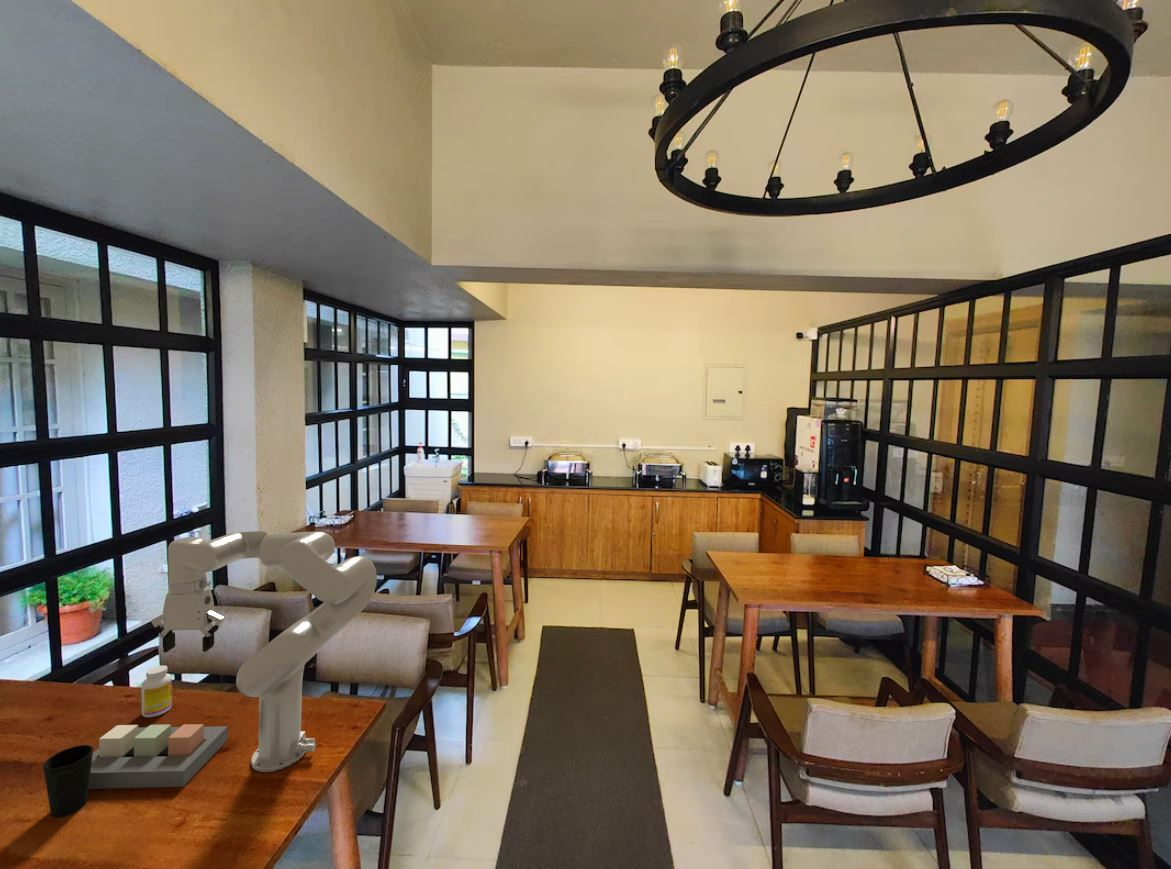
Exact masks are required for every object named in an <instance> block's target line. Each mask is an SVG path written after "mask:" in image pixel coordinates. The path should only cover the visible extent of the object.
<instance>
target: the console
mask: <svg viewBox="0 0 1171 869" xmlns="http://www.w3.org/2000/svg"><path fill="white" fill-rule="evenodd" d="M147 727H148V726H147ZM147 727H146V726H145V727H143V726H142V727H138V735H139V734H140V733H141V732H142V731H143V730H145V729H146V728H147ZM180 727H181V726H171V735H172V734H173V733H174V732H175V731H176V730H178V729H179V728H180ZM228 727H229V726H223V725H222V726H220V725H219V726H204V743H202V744H201V745H200V746H199V747H198V748H197V749H196V750H195V751H194V752H193V753H192V754H191V755H190V756H168V746H167V747H166V748H165V749H164V750H163V751H162V752H160V753H159V754H158V755H160V756H158V755H157V756H155V757H134V747H133V748H132V749H131V750H130V751H128V752H127V753H126V754H125V755H124V756H122V757H99V748H97V749H96V750H94V751H93V756H92V764H91V773H90V781H89V789H88V790H96V789H97V790H99V789H101V790H102V789H105V790H106V789H135V788H136V789H137V788H138V789H139V788H141V789H142V788H144V789H145V788H149V789H150V788H180V787H181V788H183V787H185V786H186V785H187V783H189V781H190V780H191V779H192V778H193V777H194V776H195V775H196V774H198V772H199V771H200V770H201V769H202V768H203V766H205V765H206V764H207V763H208V761H210V759H211V758H212V757H214V755H215V754H216V753H217V752H218V751H219V750H220V749H221V748H222V747H223V745H225V743H226V742H228V738H229V736H228V735H229V734H228V731H229V728H228ZM161 755H163V756H161ZM164 755H166V756H164Z"/></svg>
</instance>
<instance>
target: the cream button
mask: <svg viewBox="0 0 1171 869" xmlns="http://www.w3.org/2000/svg"><path fill="white" fill-rule="evenodd" d="M138 728H139V725H138V724H120V725H119V724H118V725H117V724H116V725H115V726H114V727H112V729H111V730H109V731H107V732H106V733H105V734H103V735H102V736H101V737H99V738H98V739H99V740H98V747H99V748H98V749H99V757H125V756H126V755H125V754H126V753H127V752H128V751H130V750H131V749H132V748H133V747H134V738H135V737H136V736H137V735H138Z"/></svg>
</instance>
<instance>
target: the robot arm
mask: <svg viewBox="0 0 1171 869" xmlns="http://www.w3.org/2000/svg"><path fill="white" fill-rule="evenodd" d="M335 548H336V543H335V539H334V538H333V537H332V536H331V535H330V534H329V533H327V532H324V531H303V532H301V531H300V532H288V533H287V532H286V533H283V532H282V533H273V532H267V531H262V530H256V531H254V530H253V531H252V530H251V531H239V532H237V531H236V532H232V533H228V534H225V535H222V536H219V537H216V538H213V539H210V540H207V541H205V539H204V538H203V537H199V536H196V537H195V536H190V537H183V538H182V537H181V538H178V539H175V540H173V541H171V542H170V543H169V545H168V548H167V555H168V556H167V557H168V559H167V560H168V592H167V593H166V595H165V598H164V604H163V611H162V612H163V613H162V614H161V615H159V616H157V617H154V618H152V619H151V621H150V622H151V623H152V625H153V627H154V630H155V631H156V632H157V633H158V634H159V637H160V638H162V652H163V653H168V652H170V651H171V650H172V649H174V648H176V633H175V631H200V632H201V633H202V634H203V637H202V638H201V639H202V652H204V653H206V652H208V651H209V650H211V649H212V648H213V647H214V645H215V633H216V632H217V631H218V630H219V629H220V628H221V627H222V625H223V623H224V621H225V619H226V618H225V617H224V616H222V615H220V614H219V613H216V612H215V603H214V598H213V597H214V596H213V593H212V591H211V588H210V586H211V584H212V582H211V581H208V580H207V579H208V578H207V572H213V571H217V570H219V569H221V568H223V567H225V566H227V565H229V564H231V563H234V562H236V561H240V560H243V559H253V558H254V559H259V560H260V562H261V564H262V565H263V566H264V567H266V568H278V567H279V568H280V567H281V569H282V570H283V572H284V573H285V574H286V575H287V576H288V577H289V578H291V579H292V580H293V581H295V582H296V583H297V584H299V585H300V586H301V587H302V588H303V589H305V590H306V591H308V593H310V594H311V595H312V596H314V597H315V598H316V599H317V600H319V601H321V602H322V604H320V605H318V606H317V608H315V609H314V610H313V611H311V612H310V613H308V614H307V615H306V616H304V617H302V618H301V619H299V620H297V621H295V623H292V624H291V625H290V626H289V627H288V628H287V629H285V630H283V631H282V632H281V633H279V635H277V636H276V637H274V638H273V639H272V640H271V641H270V642H268V643H267V644H266V645H265V646H263V647H262V648H261V649H259V651H257V652H256V653H255V654H253V656H251V657H250V658H249V659H247V660H246V661H245V662H244V663H243V664H242V665H241V666H240V668H239V669H238V672H237V674H236V678H235V679H236V680H235V682H236V684H235V685H236V688H237V690H238V691H239V693H241V694H242V695H243V696H245V697H249V698H259V701H258V748H257V749H256V750H255V751H254V753H253V754H252V755H251V760H250V762H251V763H250V765H251V767H252V769H254V770H255V771H257V772H260V773H273V772H277V771H276V770H278V771H280V770H279V769H281V770H283V768H284V767H286V768H288V767H290V766H292V765H293V764H292V763H294V762H295V763H297V762H298V761H299V760H300V759H302V757H304V755H305V754H306V753H308V752H309V753H310V752H311V753H312V752H314V751H315V749H316V747H317V744H316V738H315V737H307V736H306V731H305V730H302V710H303V709H302V702H303V700H302V697H303V696H302V694H303V678H304V677H303V676H304V670H305V665H306V663H307V662H309V661H310V660H311V659H312V658H313V657H314V656H315V655H317V653H319V652H320V651H321V650H322V648H323V647H324V646H325V645H326V644H327V643H328V642H329V641H330V640H331V639H332V638H333V637H334V636H335V635H337V634H338V633H339V632H340V631H341V630H344V628H345V627H346V626H347V625H349V623H351V622H352V621H353V620H354V619H355V618H357V616H358V615H360V613H361V612H362V611H363V610H364V609H365V608H366V606H367V605H368V604H369V602H370V601H371V599H372V597H373V596H374V593H375V591H376V587H377V582H378V581H377V580H378V578H377V577H378V576H377V570H376V567H375V564H374V562H372V560H371V559H369V558H368V557H365V556H363V555H362V556H361V555H360V556H353V557H349V558H346V559H345V560H343V561H341V562H340V563H338V564H337V565H332V564H331V563H329V562H328V560H329V559H330V558H331V557H332V556H333V553H334V552H335ZM213 623H214V624H213ZM304 753H305V754H304ZM296 761H297V762H296ZM295 763H294V764H295ZM291 764H292V765H291ZM289 765H290V766H289ZM287 766H288V767H287ZM284 769H285V768H284Z"/></svg>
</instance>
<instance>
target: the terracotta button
mask: <svg viewBox="0 0 1171 869" xmlns="http://www.w3.org/2000/svg"><path fill="white" fill-rule="evenodd" d="M204 725H205V724H203V723H201V724H200V723H199V724H198V723H196V724H194V723H193V724H191V723H189V724H185V723H184V724H182V725H181V726H179V727H180V728H179V729H178V730H176V731H175V732H174V733H173V734H172V735H171V736H170V737H169V738H168V754H167V756H190V755H191V754H192V753H193V752H194V751H195V750H196V749H197V748H198V747H199V746H200V745H201V744H202V743H204V727H205V726H204Z"/></svg>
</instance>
